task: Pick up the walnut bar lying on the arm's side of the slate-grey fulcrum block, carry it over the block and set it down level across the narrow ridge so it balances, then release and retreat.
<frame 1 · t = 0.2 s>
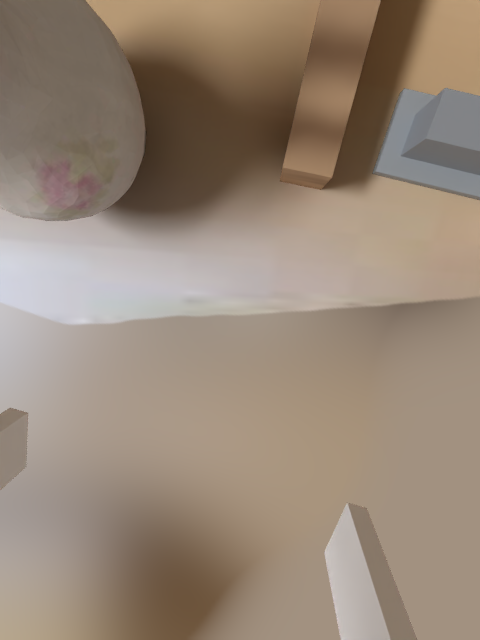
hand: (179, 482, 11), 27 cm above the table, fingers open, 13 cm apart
fulcrum: (447, 150, 30), on the table
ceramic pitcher: (89, 154, 34), on the table
walnut bar: (324, 88, 30), on the table
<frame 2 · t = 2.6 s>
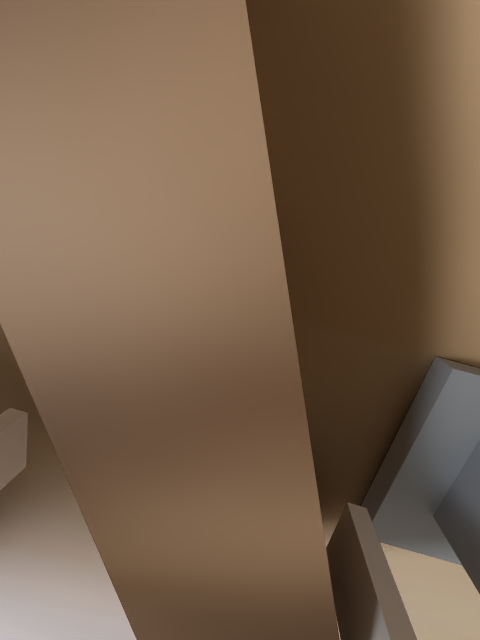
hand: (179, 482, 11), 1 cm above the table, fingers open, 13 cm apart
walnut bar: (220, 323, 11), on the table
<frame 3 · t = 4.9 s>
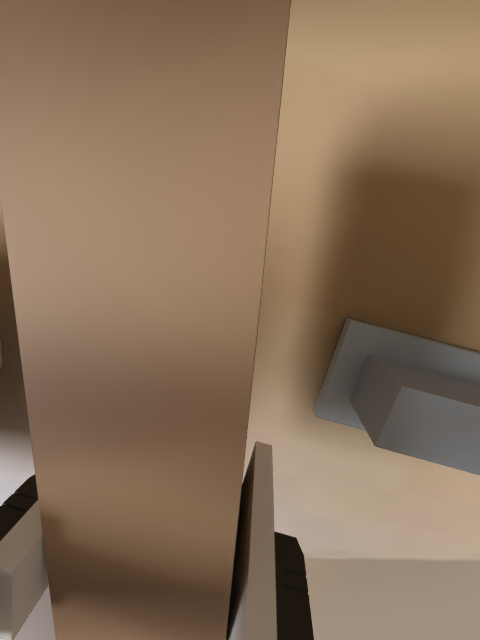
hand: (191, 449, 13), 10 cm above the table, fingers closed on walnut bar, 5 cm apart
fulcrum: (417, 389, 21), on the table
walnut bar: (199, 330, 12), point 9 cm above the table, touching gripper
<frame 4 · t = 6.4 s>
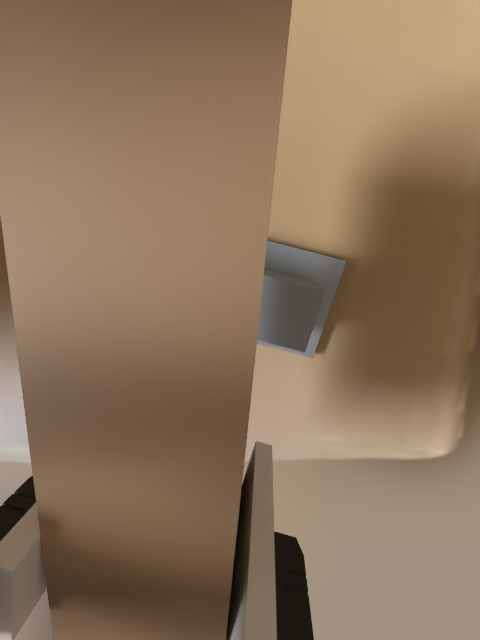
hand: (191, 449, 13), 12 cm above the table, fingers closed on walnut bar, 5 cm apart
fulcrum: (242, 287, 22), on the table
walnut bar: (198, 331, 12), point 11 cm above the table, touching gripper
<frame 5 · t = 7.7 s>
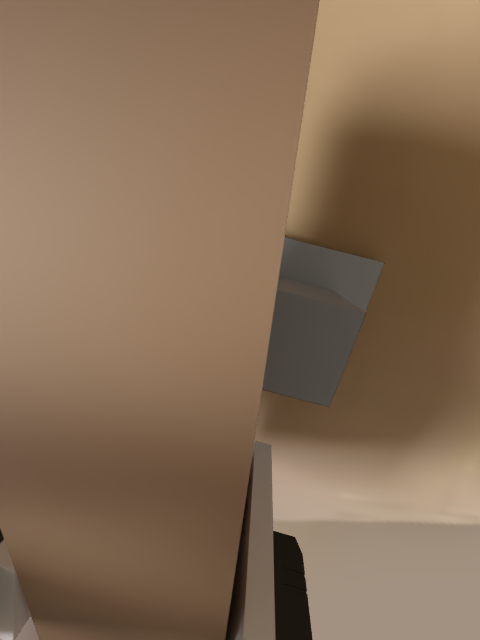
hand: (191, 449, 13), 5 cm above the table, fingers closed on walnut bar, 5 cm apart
fulcrum: (235, 298, 16), on the table
walnut bar: (194, 336, 10), point 6 cm above the table, tilted 5°, touching fulcrum, gripper
when the fingers open (5 cm above the table, at t = 8.1 s): walnut bar stays where it is, resting on fulcrum.
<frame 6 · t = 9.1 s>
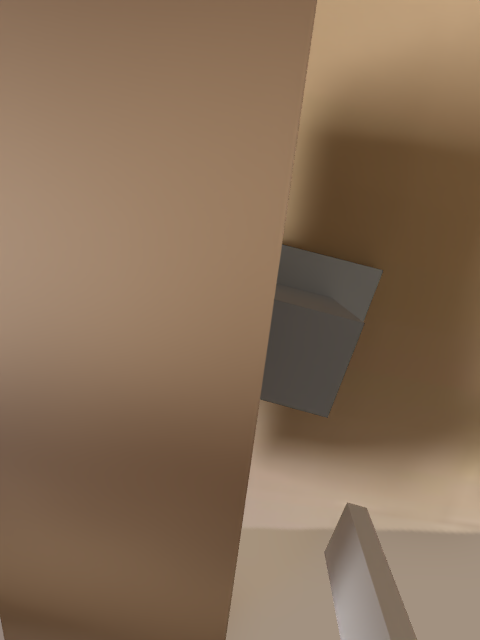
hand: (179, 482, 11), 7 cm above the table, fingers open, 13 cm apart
fulcrum: (234, 305, 16), on the table
walnut bar: (193, 344, 10), point 6 cm above the table, touching fulcrum
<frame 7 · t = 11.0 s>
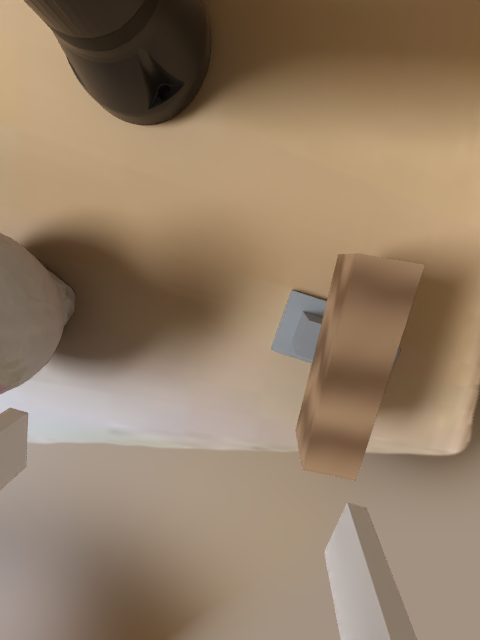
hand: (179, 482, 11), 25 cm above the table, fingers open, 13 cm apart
fulcrum: (333, 336, 35), on the table
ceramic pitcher: (25, 306, 38), on the table
walnut bar: (338, 353, 29), point 6 cm above the table, touching fulcrum
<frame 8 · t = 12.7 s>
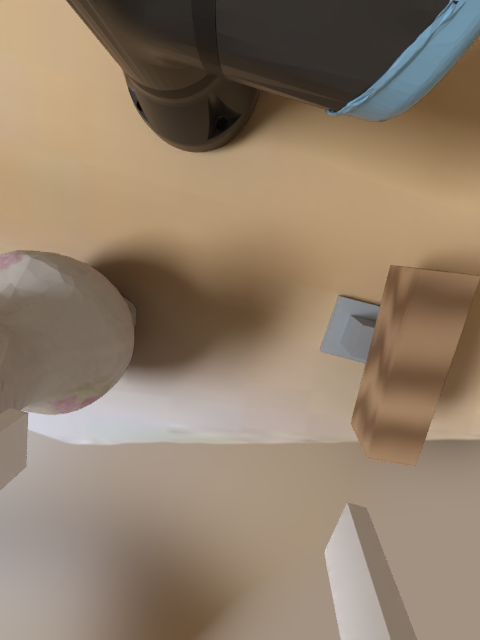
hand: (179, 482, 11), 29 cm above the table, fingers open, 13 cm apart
fulcrum: (378, 335, 37), on the table
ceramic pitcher: (90, 321, 41), on the table
walnut bar: (390, 353, 32), point 6 cm above the table, touching fulcrum
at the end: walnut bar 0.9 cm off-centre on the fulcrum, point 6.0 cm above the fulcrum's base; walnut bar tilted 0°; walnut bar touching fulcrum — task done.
